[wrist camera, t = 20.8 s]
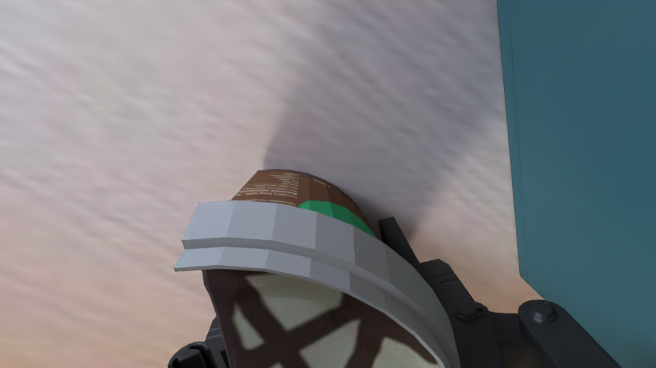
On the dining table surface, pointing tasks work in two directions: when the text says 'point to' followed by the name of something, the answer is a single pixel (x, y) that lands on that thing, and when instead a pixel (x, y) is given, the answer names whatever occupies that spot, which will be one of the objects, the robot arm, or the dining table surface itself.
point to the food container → (311, 281)
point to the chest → (586, 162)
